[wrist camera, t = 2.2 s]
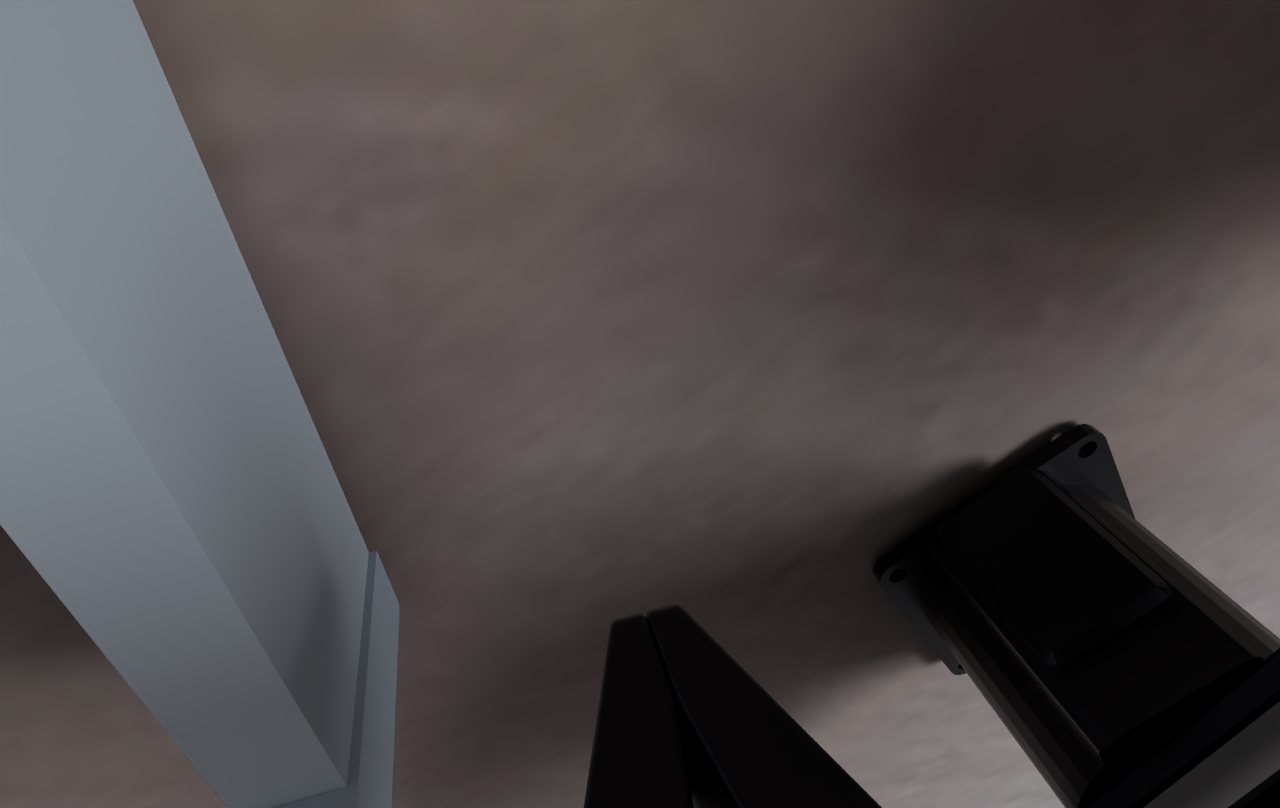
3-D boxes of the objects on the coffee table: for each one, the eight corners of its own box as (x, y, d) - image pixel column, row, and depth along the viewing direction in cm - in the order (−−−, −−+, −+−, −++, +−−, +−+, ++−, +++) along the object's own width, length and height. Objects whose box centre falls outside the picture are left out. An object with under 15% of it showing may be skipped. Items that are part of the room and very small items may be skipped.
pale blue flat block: (-286, -473, 7) (-2888, -1955, 1) (-20, -481, 7) (-1355, -1724, 2) (301, 618, 15) (236, 980, 10) (409, 592, 15) (401, 929, 10)
